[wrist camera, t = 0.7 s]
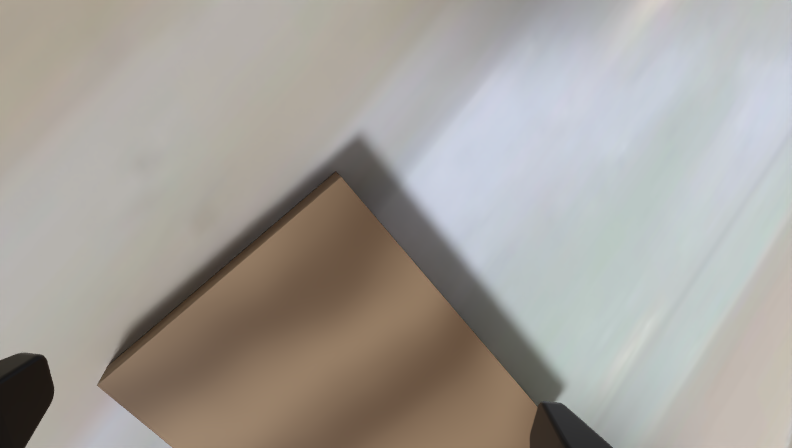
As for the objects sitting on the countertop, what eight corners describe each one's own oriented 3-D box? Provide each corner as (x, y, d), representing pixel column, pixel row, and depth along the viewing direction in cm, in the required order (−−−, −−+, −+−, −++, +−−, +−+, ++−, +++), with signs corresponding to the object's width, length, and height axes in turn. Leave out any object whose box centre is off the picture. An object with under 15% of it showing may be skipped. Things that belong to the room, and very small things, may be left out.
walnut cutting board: (107, 365, 23) (96, 385, 21) (335, 171, 23) (341, 176, 22) (360, 578, 28) (366, 607, 26) (544, 415, 28) (560, 434, 27)
